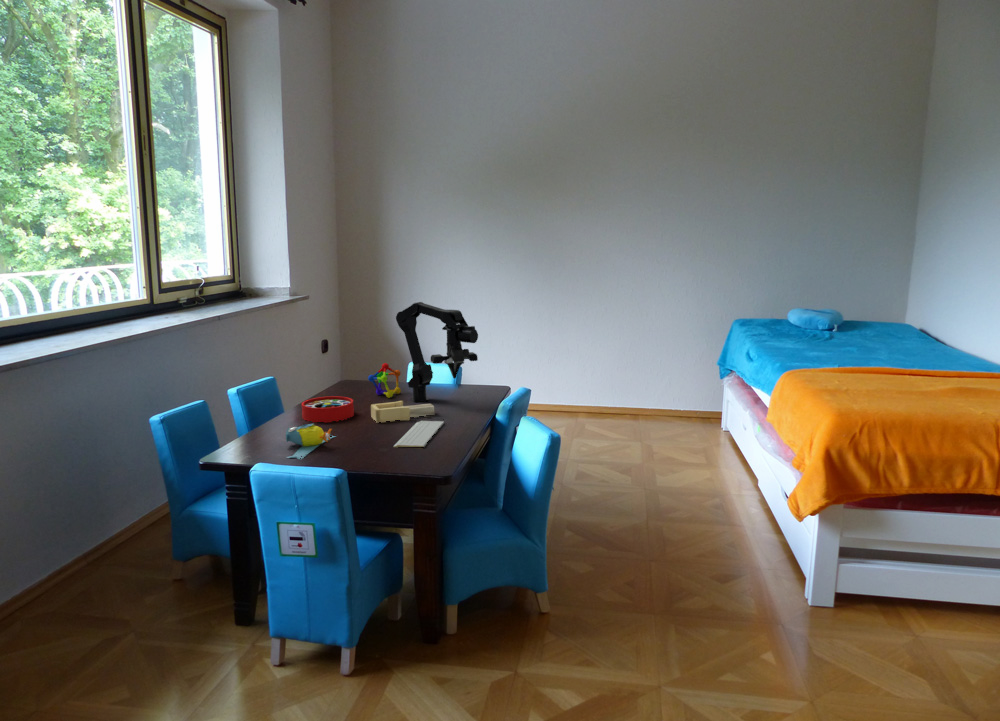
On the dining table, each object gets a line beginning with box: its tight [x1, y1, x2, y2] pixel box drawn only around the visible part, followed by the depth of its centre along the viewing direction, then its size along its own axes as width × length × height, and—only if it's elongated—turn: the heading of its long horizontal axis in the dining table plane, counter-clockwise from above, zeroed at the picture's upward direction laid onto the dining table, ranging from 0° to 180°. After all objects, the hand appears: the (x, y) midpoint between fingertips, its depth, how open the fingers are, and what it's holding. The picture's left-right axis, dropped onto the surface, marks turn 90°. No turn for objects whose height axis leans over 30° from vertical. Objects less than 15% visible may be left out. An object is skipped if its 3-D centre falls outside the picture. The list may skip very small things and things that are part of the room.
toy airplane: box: [285, 422, 337, 460], centre depth 243 cm, size 28×9×15 cm
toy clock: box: [301, 395, 355, 423], centre depth 283 cm, size 20×6×20 cm
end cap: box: [370, 400, 411, 424], centre depth 278 cm, size 13×13×5 cm
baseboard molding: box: [392, 417, 445, 448], centre depth 256 cm, size 31×3×12 cm
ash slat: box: [382, 403, 435, 418], centre depth 280 cm, size 5×22×4 cm, turn 111°
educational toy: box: [367, 362, 402, 399], centre depth 315 cm, size 16×13×15 cm
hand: (454, 378), depth 295 cm, fingers closed
